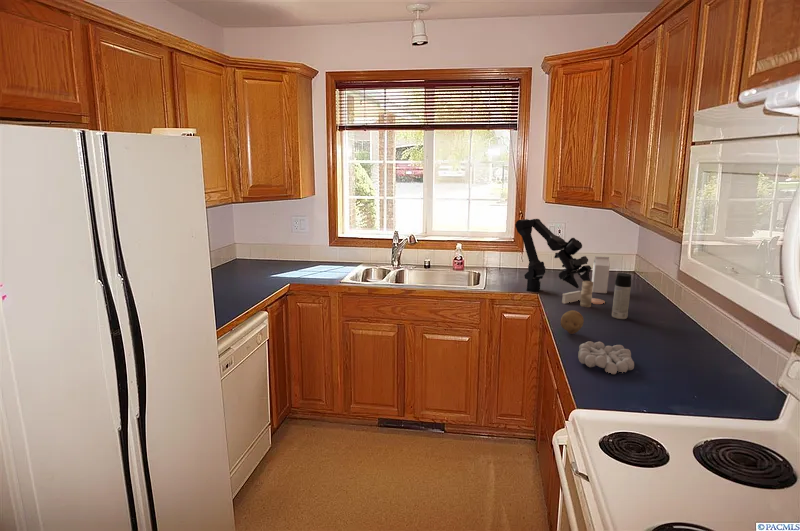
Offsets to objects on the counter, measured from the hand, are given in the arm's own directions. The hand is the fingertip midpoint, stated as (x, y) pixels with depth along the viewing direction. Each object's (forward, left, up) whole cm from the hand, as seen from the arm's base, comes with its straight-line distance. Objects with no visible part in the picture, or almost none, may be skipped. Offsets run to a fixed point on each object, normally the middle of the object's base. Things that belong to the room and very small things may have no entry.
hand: (584, 286), depth 259 cm
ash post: (+1, -1, -9) cm, 9 cm away
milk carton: (+9, +30, -9) cm, 33 cm away
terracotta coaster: (+6, +8, -9) cm, 14 cm away
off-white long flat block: (-5, +4, -9) cm, 11 cm away
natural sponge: (-6, -46, -9) cm, 48 cm away
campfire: (+5, -74, -10) cm, 75 cm away
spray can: (+15, -15, -9) cm, 24 cm away
